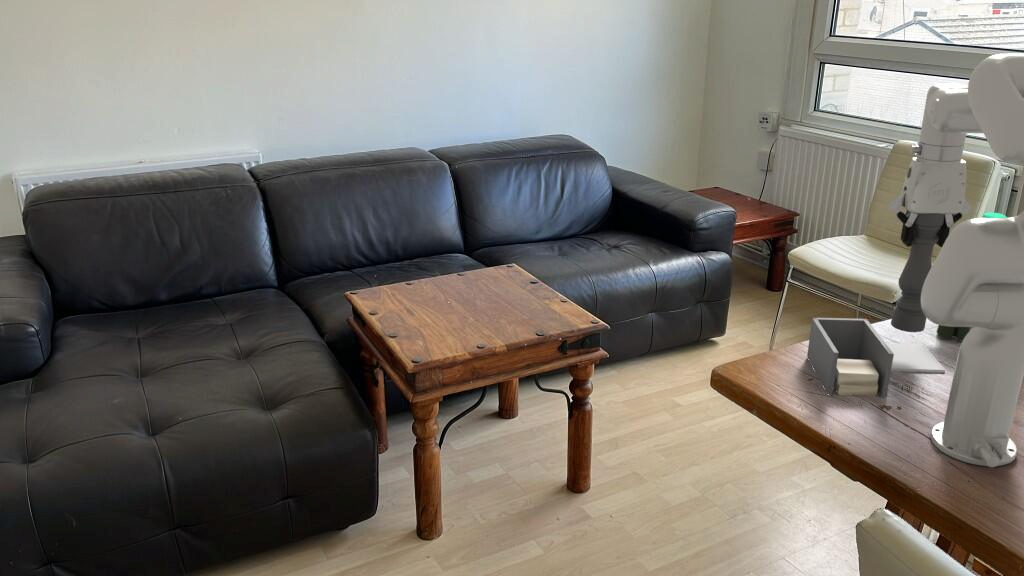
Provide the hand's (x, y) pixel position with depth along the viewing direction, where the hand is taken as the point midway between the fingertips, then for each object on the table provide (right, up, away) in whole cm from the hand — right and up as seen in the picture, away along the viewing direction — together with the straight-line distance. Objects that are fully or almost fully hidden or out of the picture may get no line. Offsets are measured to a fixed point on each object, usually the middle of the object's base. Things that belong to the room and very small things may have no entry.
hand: (923, 243), depth 158 cm
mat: (0, -23, +9) cm, 25 cm away
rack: (-14, -26, +2) cm, 30 cm away
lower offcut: (-15, -28, -2) cm, 32 cm away
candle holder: (0, -16, +7) cm, 18 cm away
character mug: (+15, -19, +18) cm, 31 cm away
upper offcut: (-15, -26, -3) cm, 30 cm away
